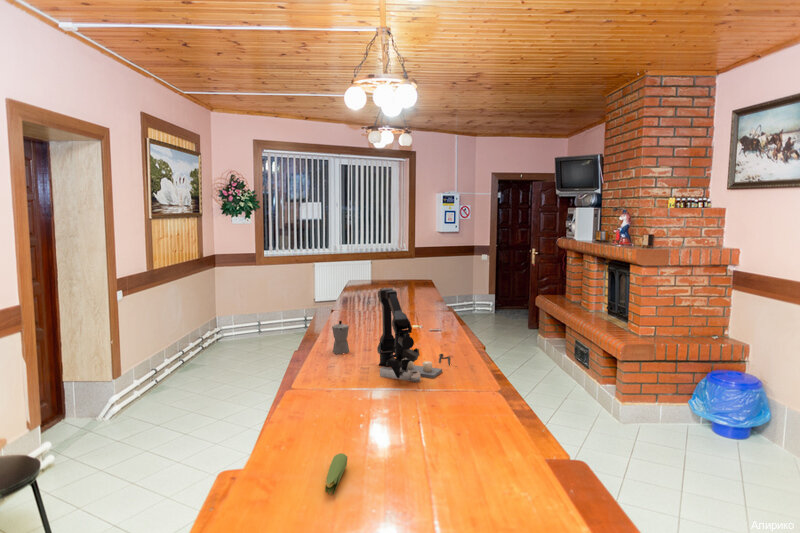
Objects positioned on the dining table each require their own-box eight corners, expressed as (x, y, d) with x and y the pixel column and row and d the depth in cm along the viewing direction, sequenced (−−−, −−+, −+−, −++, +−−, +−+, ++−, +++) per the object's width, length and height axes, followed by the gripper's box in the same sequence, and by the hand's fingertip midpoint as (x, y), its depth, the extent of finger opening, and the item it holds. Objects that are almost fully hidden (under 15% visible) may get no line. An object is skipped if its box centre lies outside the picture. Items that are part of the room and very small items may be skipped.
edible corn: (351, 451, 161) (337, 447, 161) (337, 487, 141) (321, 482, 142) (347, 466, 162) (333, 461, 162) (332, 503, 142) (316, 498, 143)
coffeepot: (349, 355, 284) (349, 322, 282) (332, 355, 283) (331, 323, 281) (348, 347, 299) (348, 317, 297) (332, 348, 298) (331, 317, 296)
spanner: (378, 377, 246) (378, 368, 245) (383, 374, 250) (383, 365, 250) (417, 382, 237) (417, 374, 236) (422, 379, 241) (422, 371, 241)
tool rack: (393, 372, 252) (393, 361, 252) (403, 366, 262) (403, 355, 262) (433, 378, 243) (433, 367, 242) (442, 371, 253) (442, 360, 252)
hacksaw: (439, 355, 283) (439, 353, 282) (458, 356, 281) (458, 353, 281) (437, 369, 259) (437, 366, 259) (458, 369, 258) (458, 366, 257)
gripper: (407, 350, 230) (408, 384, 231) (424, 340, 246) (424, 372, 248) (385, 347, 235) (386, 381, 236) (403, 338, 251) (404, 369, 253)
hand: (401, 376), depth 243 cm, fingers open, 6 cm apart
